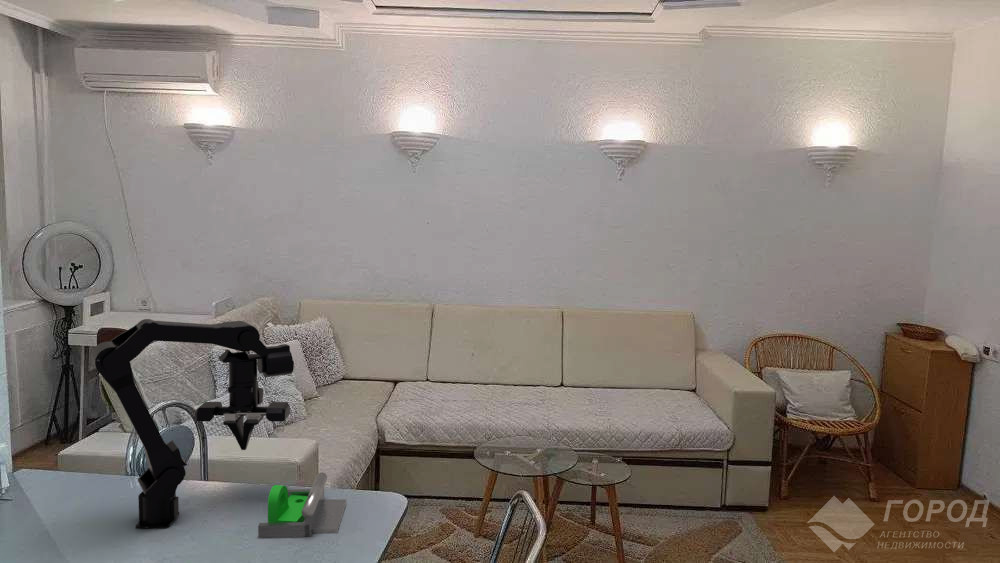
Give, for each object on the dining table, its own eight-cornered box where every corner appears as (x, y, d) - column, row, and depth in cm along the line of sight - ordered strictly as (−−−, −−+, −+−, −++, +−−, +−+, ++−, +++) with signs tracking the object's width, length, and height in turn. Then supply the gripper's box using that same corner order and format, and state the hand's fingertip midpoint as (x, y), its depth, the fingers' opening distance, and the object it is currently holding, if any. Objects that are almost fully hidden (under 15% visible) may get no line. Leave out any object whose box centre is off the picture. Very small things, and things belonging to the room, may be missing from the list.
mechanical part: (296, 531, 142) (296, 493, 141) (268, 528, 142) (267, 491, 141) (317, 505, 154) (317, 470, 153) (290, 503, 154) (290, 468, 153)
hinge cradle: (258, 537, 138) (257, 506, 137) (277, 500, 155) (277, 472, 154) (336, 536, 140) (336, 506, 139) (347, 499, 156) (347, 472, 156)
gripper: (294, 371, 159) (295, 436, 161) (210, 370, 158) (211, 437, 160) (284, 384, 148) (284, 454, 150) (193, 383, 147) (195, 454, 149)
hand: (244, 449), depth 152 cm, fingers closed
